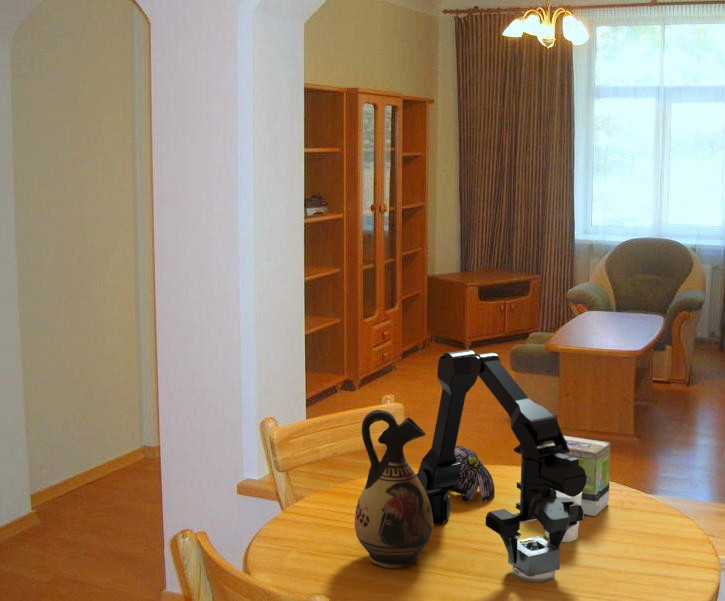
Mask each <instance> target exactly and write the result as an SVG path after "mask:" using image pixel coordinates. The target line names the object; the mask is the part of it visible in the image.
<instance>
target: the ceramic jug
mask: <svg viewBox="0 0 725 601" xmlns="http://www.w3.org/2000/svg"><path fill="white" fill-rule="evenodd" d="M381 421H382V422H384V423H386V424H388V427H387V428H386V429H384V430H383V432H382V433H381V434H380V435H379V437H378V439H377V441H378V443H379V444H381V445H385V447H386V449H385V452H384V455H383V456H382V459H381V460H379V458H378V455H377V452H376V450H375V448H374V443H373V440H372V436H371V430H370V429H371V425H373V424H374V423H375V422H381ZM361 423H362V424H361V437H362V442H363V444H364V447H365V450H366V452H367V456H368V458H369V462H370V467H369V469H368V475H367V479H366V483H365V486H364V487H363V489H362V490H361V492H360V496H359V498H358V500H357V504H356V507H355V512H354V529H355V535H356V538H357V539H358V541H359V543H360V544H361V546H362V547H363V548H364V549H365V550H366V552H367V553H368V559H369V560H370V562H372V564H375V565H378V566H380V567H383V568H385V569H399V570H400V569H401V570H405V569H409V568H410V567H412V566H414V565H416V564H417V563H418V561H419V558H418V557H419V556H420V554H421V552H423V550H424V549H425V548H426V546H427V545H428V544H429V542H430V539H431V538H432V534H433V530H434V529H433V528H434V524H433V515H432V509H431V505H430V502H429V499H428V496H427V494H426V491H425V489H424V487H423V486H422V484H421V482H420V481H419V479H418V477H417V476H416V474H417V473H415V471H414V470H413V468H412V466H410V464H409V463H408V462H407V459H406V458H405V454H404V446H405V445H407V444H408V443H410V442H412V441H414V440H416V439H419V438H423V437H424V436H426V432H425V431H424V430H423V428H422V427H420V426H419V425H418V424H417V422H415V421H414V419H412V418H411V417H409V416H408V417H406V419H404V420H403V421H402V422H401V423H400V424H398V422H397V419H396V417H395V416H394V415H393V414H392V413H391V412H389V411H386V410H381V409H375V410H372V411H370V412H369V413H367V414H366V415H365V417H364V418H363V420H362V422H361ZM347 562H348V561H347V560H346V563H347Z"/></svg>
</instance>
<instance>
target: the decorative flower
mask: <svg viewBox="0 0 725 601" xmlns="http://www.w3.org/2000/svg"><path fill="white" fill-rule="evenodd" d="M455 456H456V458H457V460H458V462H459V463H461V464H462V468H461V471H460V480H457V483H456V486H455V489H454V491H452V493H456V494H459V495H460V500H461V501H462V502H464V503H468V501H469V502H470V501H471V500H473V498H474V497H475V495H476V493H477V491H478V489H479V493H480V499H481V502H482V503H484V502H485V501H490V499H492V497H493V496H494V495H495V490H496V489H495V484H494V479H493V476H492V474H491V472H490V471H489V470H488V469H487V467H486V466H484V464H483V463H482V461H481V460H480V457H478V455H477V454H476V452H474V451H473V450H471V449H470V448H468V447H465V446H460V445H456V447H455Z"/></svg>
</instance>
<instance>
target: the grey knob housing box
mask: <svg viewBox="0 0 725 601" xmlns="http://www.w3.org/2000/svg"><path fill="white" fill-rule="evenodd" d="M532 540H536V541H537V548H538V549H539V550H535V551H530V548H531V547H532ZM507 563H508V564H510V566H512V567H513V566H514V567H515V568H517V569H518V570H520V571H521V572H523V573H524V574H525V575H527V576H528V577H530V576H534V575H538V574H542V573H547V572H551V571H555V572H556V571H558V570H560V569H561V548H560V547H559V548H557V547H556V546H554V545H552V544H551V543H550V541H547V539H544V538H543V537H541V536H539V535H536V536H532V537H529V538H523V539H518V540H517V562H516V564H514V563H512V561H511V559H510V557H509V554H508V553H507Z"/></svg>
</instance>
